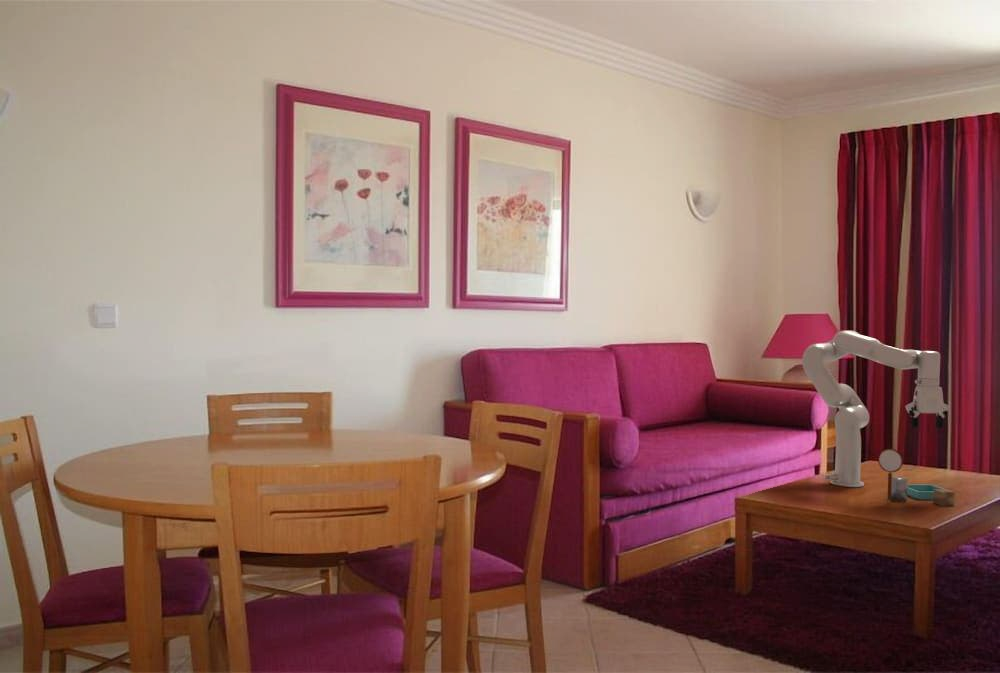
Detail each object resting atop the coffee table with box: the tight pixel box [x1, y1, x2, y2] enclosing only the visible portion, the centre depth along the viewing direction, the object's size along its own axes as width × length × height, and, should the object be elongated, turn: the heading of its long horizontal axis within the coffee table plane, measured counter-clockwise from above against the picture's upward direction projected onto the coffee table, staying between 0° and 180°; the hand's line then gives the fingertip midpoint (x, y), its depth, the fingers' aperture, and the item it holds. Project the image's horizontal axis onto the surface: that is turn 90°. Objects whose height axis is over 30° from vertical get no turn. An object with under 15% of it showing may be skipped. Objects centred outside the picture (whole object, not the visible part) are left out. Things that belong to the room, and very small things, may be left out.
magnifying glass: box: [877, 448, 904, 503], centre depth 328 cm, size 9×2×20 cm, turn 49°
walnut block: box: [932, 488, 956, 506], centre depth 328 cm, size 5×5×5 cm
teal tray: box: [907, 484, 944, 501], centre depth 342 cm, size 14×14×3 cm
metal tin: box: [891, 476, 909, 502], centre depth 335 cm, size 6×6×8 cm
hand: (926, 427), depth 341 cm, fingers open, 9 cm apart
